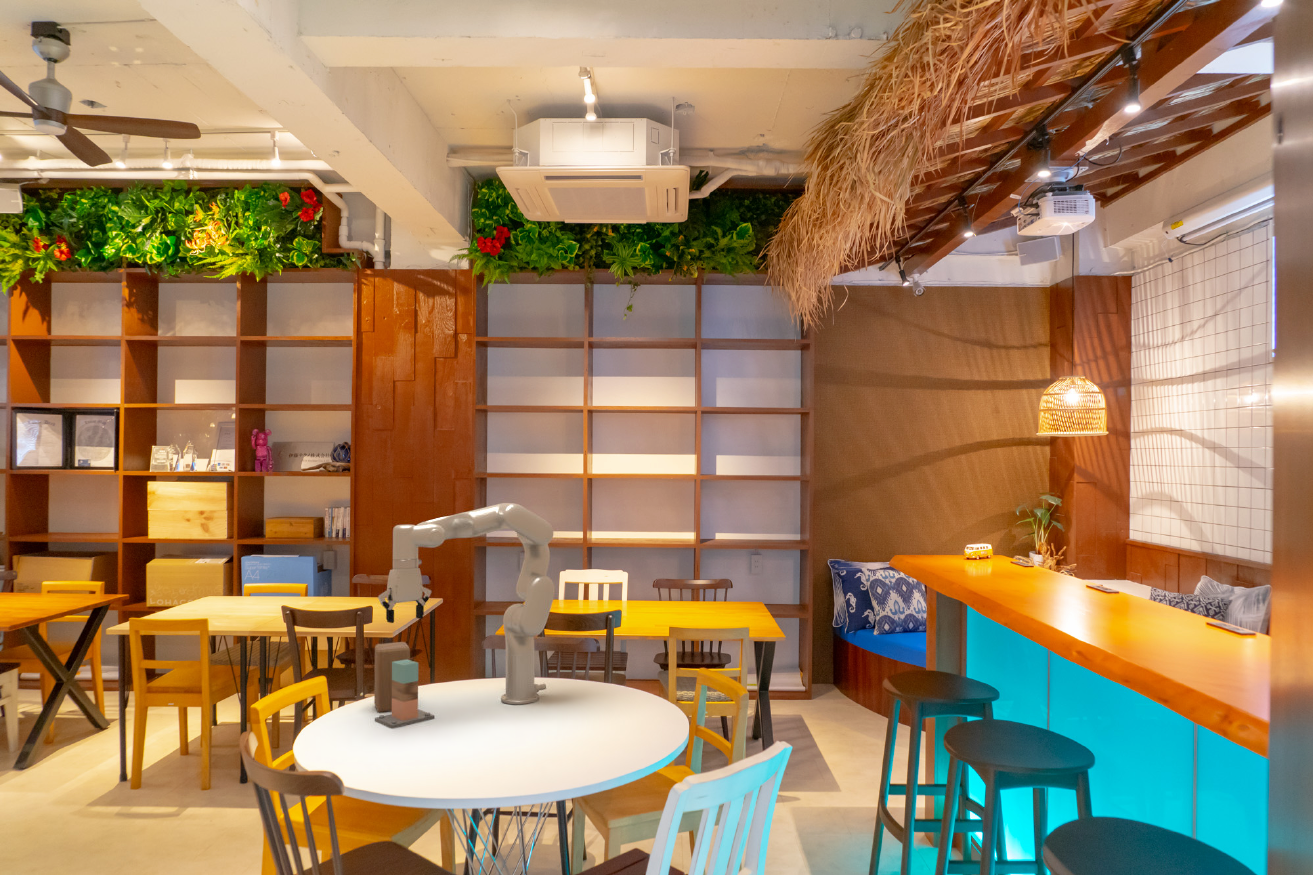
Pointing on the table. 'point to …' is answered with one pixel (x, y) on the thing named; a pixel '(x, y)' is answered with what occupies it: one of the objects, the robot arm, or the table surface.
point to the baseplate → (402, 723)
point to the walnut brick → (404, 691)
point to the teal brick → (405, 671)
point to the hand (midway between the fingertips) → (405, 620)
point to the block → (387, 672)
